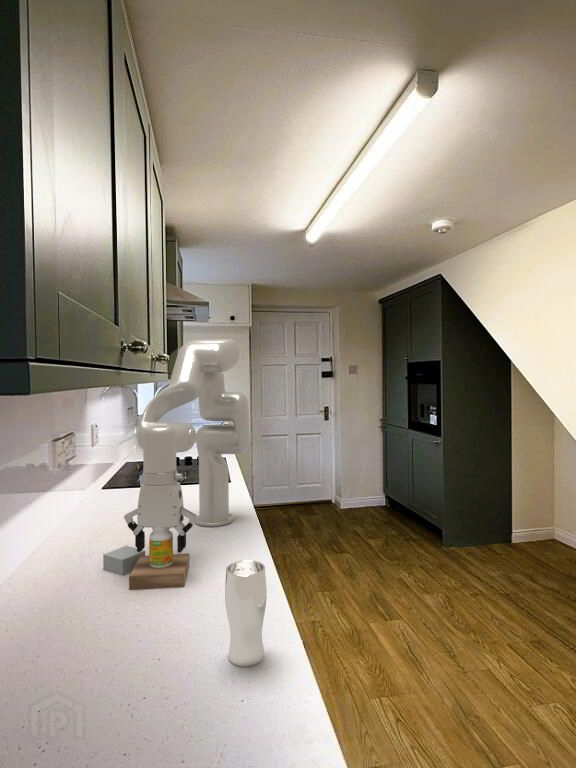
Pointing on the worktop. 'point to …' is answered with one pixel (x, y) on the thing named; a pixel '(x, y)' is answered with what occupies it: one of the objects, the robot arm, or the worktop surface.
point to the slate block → (121, 560)
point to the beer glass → (245, 611)
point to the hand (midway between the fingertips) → (160, 550)
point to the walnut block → (159, 573)
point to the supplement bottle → (161, 547)
